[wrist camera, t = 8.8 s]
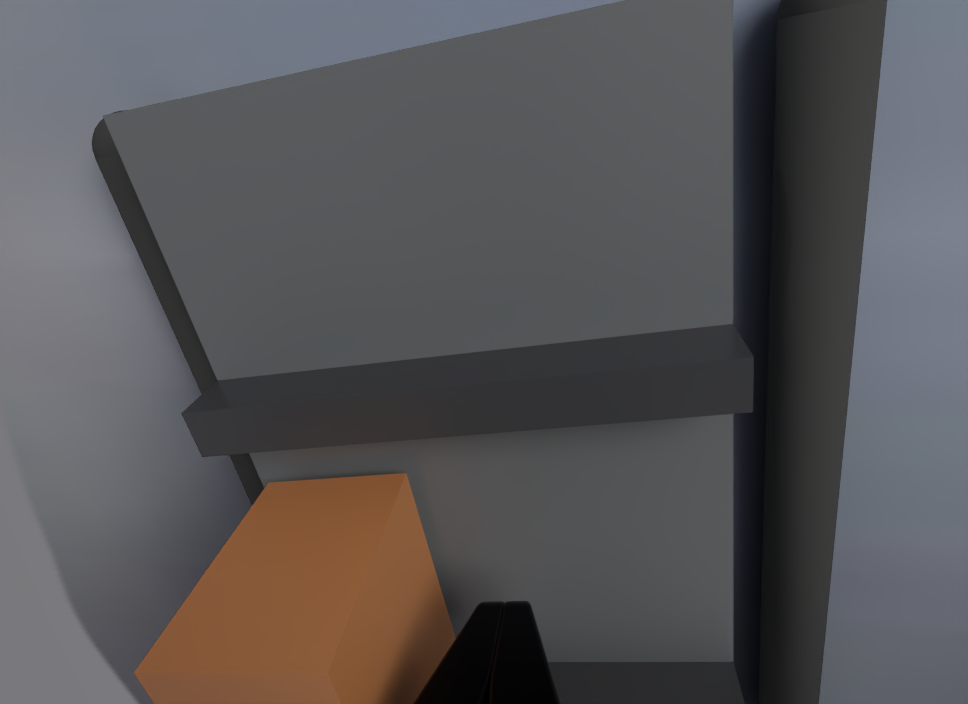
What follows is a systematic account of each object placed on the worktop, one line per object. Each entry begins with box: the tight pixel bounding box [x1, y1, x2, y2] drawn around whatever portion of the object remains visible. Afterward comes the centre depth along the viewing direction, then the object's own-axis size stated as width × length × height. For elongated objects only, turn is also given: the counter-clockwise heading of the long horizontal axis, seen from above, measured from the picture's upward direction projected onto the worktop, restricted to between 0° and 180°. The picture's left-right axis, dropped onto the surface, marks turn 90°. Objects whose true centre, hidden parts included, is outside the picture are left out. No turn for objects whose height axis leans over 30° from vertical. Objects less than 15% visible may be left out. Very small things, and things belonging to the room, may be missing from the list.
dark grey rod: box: [92, 110, 264, 505], centre depth 13 cm, size 16×1×1 cm, turn 11°
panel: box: [103, 0, 754, 704], centre depth 11 cm, size 16×8×3 cm, turn 11°
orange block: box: [134, 473, 456, 704], centre depth 9 cm, size 4×2×4 cm, turn 11°
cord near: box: [758, 0, 887, 704], centre depth 11 cm, size 16×1×1 cm, turn 11°
